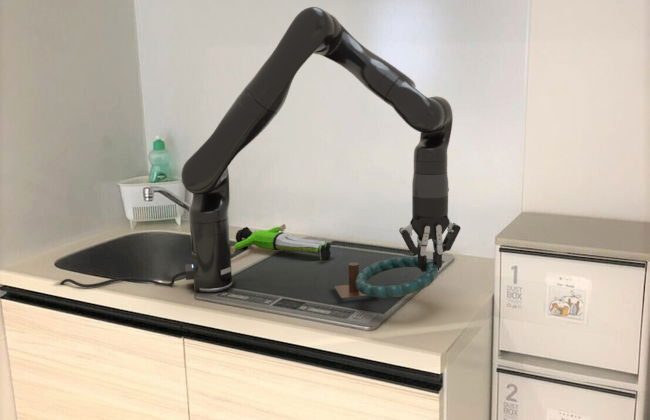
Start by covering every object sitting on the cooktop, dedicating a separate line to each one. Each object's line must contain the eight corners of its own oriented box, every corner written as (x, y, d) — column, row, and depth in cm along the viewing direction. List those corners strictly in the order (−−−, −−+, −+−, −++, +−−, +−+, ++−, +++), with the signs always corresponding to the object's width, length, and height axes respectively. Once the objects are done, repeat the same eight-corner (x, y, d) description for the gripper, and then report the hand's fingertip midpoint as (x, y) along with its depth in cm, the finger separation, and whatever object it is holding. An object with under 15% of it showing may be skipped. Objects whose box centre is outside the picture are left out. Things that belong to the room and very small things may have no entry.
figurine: (351, 248, 198) (266, 234, 213) (351, 227, 197) (266, 215, 212) (298, 277, 175) (207, 260, 190) (297, 254, 173) (205, 238, 188)
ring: (369, 307, 139) (367, 296, 138) (348, 278, 156) (346, 269, 155) (451, 283, 141) (449, 273, 140) (421, 258, 158) (420, 248, 157)
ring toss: (341, 302, 157) (340, 270, 155) (333, 290, 164) (333, 260, 162) (375, 299, 158) (375, 267, 156) (366, 287, 166) (365, 257, 164)
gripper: (454, 186, 150) (453, 262, 154) (393, 191, 147) (393, 268, 152) (468, 194, 143) (466, 272, 147) (404, 198, 140) (404, 279, 144)
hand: (429, 269), depth 149 cm, fingers closed on ring, 2 cm apart
